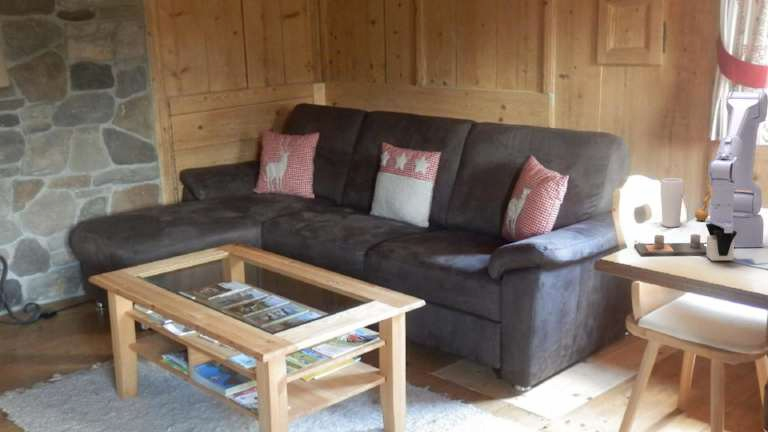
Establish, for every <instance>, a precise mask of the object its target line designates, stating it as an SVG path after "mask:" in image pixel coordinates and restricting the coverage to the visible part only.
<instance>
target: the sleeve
mask: <svg viewBox="0 0 768 432" xmlns="http://www.w3.org/2000/svg"><path fill="white" fill-rule="evenodd" d="M706 243H707V251H706V255H705V256H707V257H708V258H709V259H710V260H711V261H734V253H735V248H734V240H733V241H732V243H731V246H730V249H729V252H728V255H727V256H719V253H718V246H717V239H716V236H715V235H711V236H710V235H707V236H706Z"/></svg>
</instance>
